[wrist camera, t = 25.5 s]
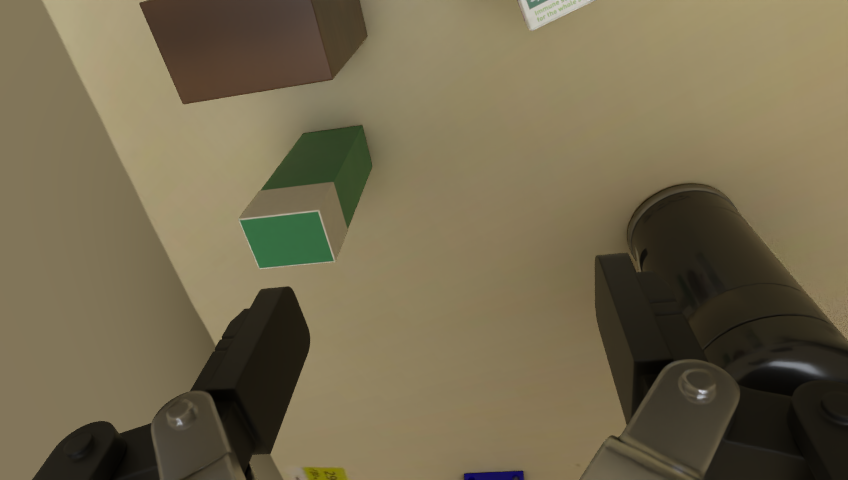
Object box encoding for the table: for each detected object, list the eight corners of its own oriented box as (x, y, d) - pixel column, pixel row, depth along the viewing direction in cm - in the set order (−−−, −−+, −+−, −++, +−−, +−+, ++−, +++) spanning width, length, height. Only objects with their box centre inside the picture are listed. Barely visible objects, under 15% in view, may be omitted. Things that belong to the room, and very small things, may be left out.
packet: (371, 137, 48) (377, 281, 45) (314, 145, 49) (316, 287, 46) (316, 59, 35) (320, 254, 32) (240, 71, 36) (236, 262, 33)
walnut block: (367, 36, 41) (333, 79, 31) (251, 57, 43) (182, 104, 33) (348, -49, 38) (303, -31, 28) (223, -23, 40) (138, 2, 30)
